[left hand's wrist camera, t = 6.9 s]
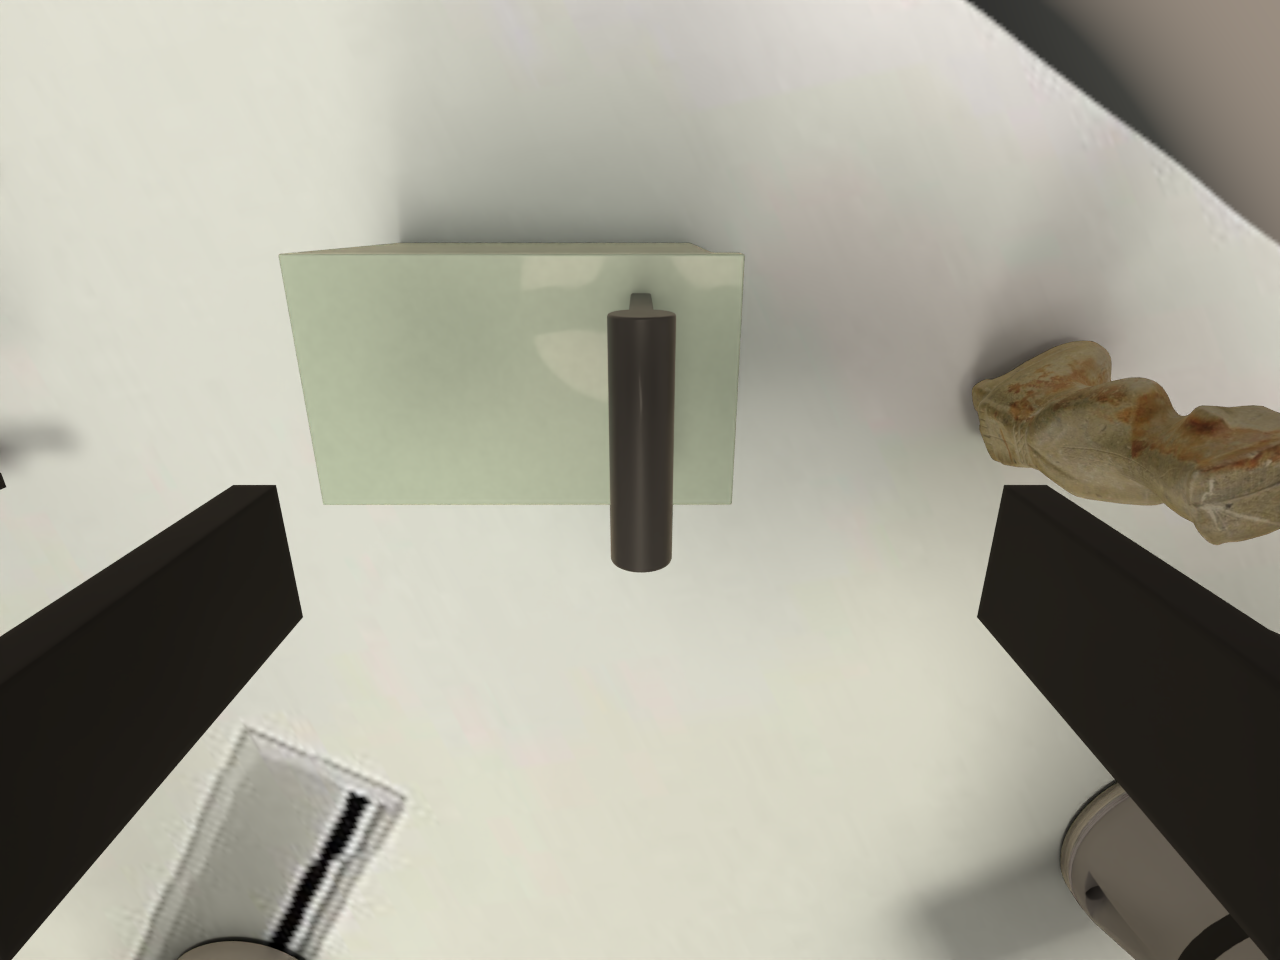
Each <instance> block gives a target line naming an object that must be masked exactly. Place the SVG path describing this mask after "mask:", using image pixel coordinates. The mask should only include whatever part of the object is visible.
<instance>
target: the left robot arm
mask: <svg viewBox="0 0 1280 960" xmlns="http://www.w3.org/2000/svg"><path fill="white" fill-rule="evenodd" d="M302 618H303V615H302V610H301V605H300V601H299V596H298V591H297V586H296V581H295V576H294V571H293V566H292V562H291V557H290V552H289V547H288V542H287V537H286V532H285V527H284V523H283V518H282V513H281V508H280V503H279V498H278V493H277V488H276V485H233V486H231V487H230V488H228V489H227V490H225V491H224V492H222V493H220V494H219V495H217V496H216V497H214V498H213V499H211V500H210V501H208V502H207V503H205V504H204V505H202V506H200V507H199V508H197V509H196V510H194V511H193V512H191V513H190V514H188V515H187V516H185V517H184V518H182V519H180V520H179V521H177V522H176V523H174V524H173V525H171V526H170V527H168V528H167V529H165V530H164V531H162V532H161V533H159V534H157V535H156V536H154V537H153V538H151V539H150V540H148V541H147V542H145V543H144V544H142V545H141V546H139V547H137V548H136V549H134V550H133V551H131V552H130V553H128V554H127V555H125V556H124V557H122V558H121V559H119V560H117V561H116V562H114V563H113V564H111V565H110V566H108V567H107V568H105V569H104V570H102V571H101V572H99V573H97V574H96V575H94V576H93V577H91V578H90V579H88V580H87V581H85V582H84V583H82V584H81V585H79V586H77V587H76V588H74V589H73V590H71V591H70V592H68V593H67V594H65V595H64V596H62V597H61V598H59V599H57V600H56V601H54V602H53V603H51V604H50V605H48V606H47V607H45V608H44V609H42V610H41V611H39V612H37V613H36V614H34V615H33V616H31V617H30V618H28V619H27V620H25V621H24V622H22V623H21V624H19V625H17V626H16V627H14V628H13V629H11V630H10V631H8V632H7V633H5V634H4V635H2V636H1V637H0V960H12V959H13V957H14V956H15V955H16V954H17V953H18V951H19V950H20V949H21V948H22V947H23V946H24V944H25V943H26V942H27V941H28V940H29V939H30V937H31V936H32V935H33V934H34V933H35V931H36V930H37V929H38V928H39V927H40V926H41V924H42V923H43V922H44V921H45V920H46V919H47V917H48V916H49V915H50V914H51V913H52V911H53V910H54V909H55V908H56V907H57V906H58V904H59V903H60V902H61V901H62V900H63V899H64V897H65V896H66V895H67V894H68V893H69V891H70V890H71V889H72V888H73V887H74V886H75V884H76V883H77V882H78V881H79V880H80V879H81V877H82V876H83V875H84V874H85V873H86V871H87V870H88V869H89V868H90V867H91V866H92V864H93V863H94V862H95V861H96V860H97V859H98V857H99V856H100V855H101V854H102V853H103V852H104V850H105V849H106V848H107V847H108V846H109V844H110V843H111V842H112V841H113V840H114V839H115V837H116V836H117V835H118V834H119V833H120V832H121V830H122V829H123V828H124V827H125V826H126V824H127V823H128V822H129V821H130V820H131V819H132V817H133V816H134V815H135V814H136V813H137V812H138V810H139V809H140V808H141V807H142V806H143V804H144V803H145V802H146V801H147V800H148V799H149V797H150V796H151V795H152V794H153V793H154V792H155V790H156V789H157V788H158V787H159V786H160V784H161V783H162V782H163V781H164V780H165V779H166V777H167V776H168V775H169V774H170V773H171V772H172V770H173V769H174V768H175V767H176V766H177V765H178V763H179V762H180V761H181V760H182V759H183V757H184V756H185V755H186V754H187V753H188V752H189V750H190V749H191V748H192V747H193V746H194V745H195V743H196V742H197V741H198V740H199V739H200V737H201V736H202V735H203V734H204V733H205V732H206V730H207V729H208V728H209V727H210V726H211V725H212V723H213V722H214V721H215V720H216V719H217V717H218V716H219V715H220V714H221V713H222V712H223V710H224V709H225V708H226V707H227V706H228V705H229V703H230V702H231V701H232V700H233V699H234V697H235V696H236V695H237V694H238V693H239V692H240V690H241V689H242V688H243V687H244V686H245V685H246V683H247V682H248V681H249V680H250V679H251V677H252V676H253V675H254V674H255V673H256V672H257V670H258V669H259V668H260V667H261V666H262V665H263V663H264V662H265V661H266V660H267V659H268V658H269V656H270V655H271V654H272V653H273V652H274V650H275V649H276V648H277V647H278V646H279V645H280V643H281V642H282V641H283V640H284V639H285V638H286V636H287V635H288V634H289V633H290V632H291V630H292V629H293V628H294V627H295V626H296V625H297V623H298V622H299V621H300V620H301V619H302ZM977 618H978V619H979V620H980V621H981V622H982V623H983V625H984V626H985V627H986V628H987V629H988V630H989V632H990V633H991V634H992V635H993V636H994V638H995V639H996V640H997V641H998V642H999V643H1000V645H1001V646H1002V647H1003V648H1004V649H1005V650H1006V652H1007V653H1008V654H1009V655H1010V656H1011V658H1012V659H1013V660H1014V661H1015V662H1016V663H1017V665H1018V666H1019V667H1020V668H1021V669H1022V670H1023V672H1024V673H1025V674H1026V675H1027V676H1028V677H1029V679H1030V680H1031V681H1032V682H1033V683H1034V685H1035V686H1036V687H1037V688H1038V689H1039V690H1040V692H1041V693H1042V694H1043V695H1044V696H1045V697H1046V699H1047V700H1048V701H1049V702H1050V703H1051V705H1052V706H1053V707H1054V708H1055V709H1056V710H1057V712H1058V713H1059V714H1060V715H1061V716H1062V717H1063V719H1064V720H1065V721H1066V722H1067V723H1068V725H1069V726H1070V727H1071V728H1072V729H1073V730H1074V732H1075V733H1076V734H1077V735H1078V736H1079V737H1080V739H1081V740H1082V741H1083V742H1084V743H1085V745H1086V746H1087V747H1088V748H1089V749H1090V750H1091V752H1092V753H1093V754H1094V755H1095V756H1096V757H1097V759H1098V760H1099V761H1100V762H1101V763H1102V765H1103V766H1104V767H1105V768H1106V769H1107V770H1108V772H1109V773H1110V774H1111V775H1112V776H1113V777H1114V779H1115V780H1116V781H1117V783H1116V784H1114V785H1113V786H1111V787H1109V788H1108V789H1106V790H1105V791H1104V792H1102V793H1101V794H1100V795H1098V796H1097V797H1096V798H1095V799H1094V800H1092V801H1091V802H1090V803H1089V804H1088V805H1087V806H1086V807H1085V808H1084V809H1083V810H1082V811H1081V813H1080V814H1079V815H1078V816H1077V818H1076V819H1075V820H1074V822H1073V823H1072V825H1071V826H1070V828H1069V830H1068V832H1067V834H1066V837H1065V839H1064V842H1063V845H1062V849H1061V856H1060V865H1061V872H1062V875H1063V878H1064V880H1065V883H1066V885H1067V886H1068V888H1069V889H1070V891H1071V893H1072V894H1073V896H1074V897H1075V899H1076V900H1077V902H1078V903H1079V905H1080V906H1081V907H1082V909H1083V910H1084V911H1085V912H1086V913H1087V915H1088V916H1089V917H1090V918H1091V919H1092V920H1093V922H1094V923H1095V924H1096V925H1098V926H1099V927H1100V928H1101V929H1102V930H1103V931H1104V932H1105V933H1106V934H1108V935H1109V936H1110V937H1111V938H1112V939H1113V940H1114V941H1115V942H1116V943H1118V944H1119V945H1120V946H1121V947H1122V948H1123V949H1124V950H1125V951H1126V952H1128V953H1129V954H1130V955H1131V956H1132V957H1133V958H1134V959H1135V960H1280V634H1278V633H1275V632H1273V631H1271V630H1269V629H1267V628H1266V627H1264V626H1263V625H1261V624H1259V623H1258V622H1256V621H1255V620H1253V619H1252V618H1250V617H1249V616H1247V615H1246V614H1244V613H1243V612H1241V611H1239V610H1238V609H1236V608H1235V607H1233V606H1232V605H1230V604H1229V603H1227V602H1226V601H1224V600H1223V599H1221V598H1219V597H1218V596H1216V595H1215V594H1213V593H1212V592H1210V591H1209V590H1207V589H1206V588H1204V587H1203V586H1201V585H1199V584H1198V583H1196V582H1195V581H1193V580H1192V579H1190V578H1189V577H1187V576H1186V575H1184V574H1183V573H1181V572H1179V571H1178V570H1176V569H1175V568H1173V567H1172V566H1170V565H1169V564H1167V563H1166V562H1164V561H1163V560H1161V559H1159V558H1158V557H1156V556H1155V555H1153V554H1152V553H1150V552H1149V551H1147V550H1146V549H1144V548H1143V547H1141V546H1139V545H1138V544H1136V543H1135V542H1133V541H1132V540H1130V539H1129V538H1127V537H1126V536H1124V535H1123V534H1121V533H1119V532H1118V531H1116V530H1115V529H1113V528H1112V527H1110V526H1109V525H1107V524H1106V523H1104V522H1103V521H1101V520H1100V519H1098V518H1096V517H1095V516H1093V515H1092V514H1090V513H1089V512H1087V511H1086V510H1084V509H1083V508H1081V507H1080V506H1078V505H1076V504H1075V503H1073V502H1072V501H1070V500H1069V499H1067V498H1066V497H1064V496H1063V495H1061V494H1060V493H1058V492H1056V491H1055V490H1053V489H1052V488H1050V487H1049V486H1047V485H1004V488H1003V493H1002V498H1001V503H1000V508H999V513H998V518H997V522H996V527H995V532H994V537H993V542H992V547H991V552H990V557H989V562H988V566H987V571H986V576H985V581H984V586H983V591H982V596H981V601H980V605H979V610H978V615H977Z"/></svg>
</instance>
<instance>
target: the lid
mask: <svg viewBox="0 0 1280 960" xmlns="http://www.w3.org/2000/svg"><path fill="white" fill-rule="evenodd" d="M744 259H745V256H744V254H741V253H285V254H279V260H280V266H281V271H282V277H283V283H284V288H285V294H286V299H287V305H288V310H289V316H290V321H291V327H292V333H293V338H294V344H295V349H296V355H297V360H298V366H299V371H300V377H301V383H302V388H303V394H304V399H305V405H306V410H307V416H308V422H309V427H310V433H311V438H312V444H313V449H314V455H315V460H316V466H317V472H318V477H319V483H320V488H321V494H322V499H323V504H324V505H610V526H611V559H612V562H613V563H614V564H615V565H616V566H617V567H619V568H621V569H623V570H627V571H631V572H652V571H656V570H660V569H662V568H664V567H666V566H667V565H668V564H669V563H670V561H671V559H672V516H673V505H730V504H731V503H732V488H733V469H734V450H735V430H736V411H737V392H738V373H739V354H740V335H741V316H742V297H743V278H744Z"/></svg>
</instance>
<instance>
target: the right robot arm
mask: <svg viewBox="0 0 1280 960" xmlns="http://www.w3.org/2000/svg"><path fill="white" fill-rule="evenodd" d="M5 487H6V485H5V482H4V480H3V477H2V474H1V473H0V490H1V489H3V488H5Z"/></svg>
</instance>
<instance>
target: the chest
mask: <svg viewBox="0 0 1280 960" xmlns="http://www.w3.org/2000/svg"><path fill="white" fill-rule="evenodd" d="M298 253H712V252H709V251H707V250H705V249H703V248H700V247H698V246H696V245H693V244H692V243H393V244H382V245H372V246H361V247H350V248H339V249H328V250H318V251H307V252H298Z"/></svg>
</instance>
